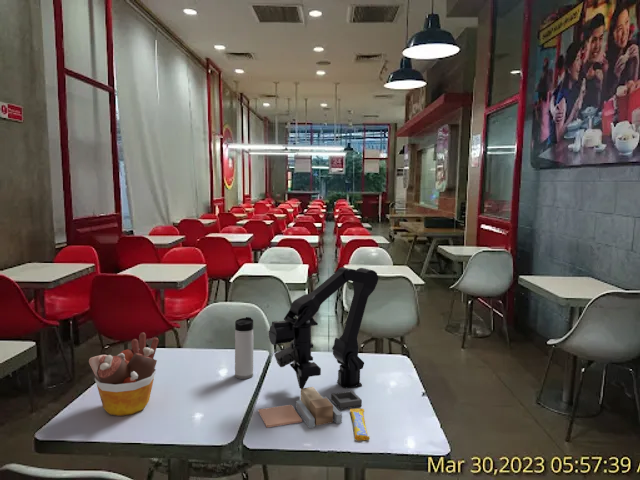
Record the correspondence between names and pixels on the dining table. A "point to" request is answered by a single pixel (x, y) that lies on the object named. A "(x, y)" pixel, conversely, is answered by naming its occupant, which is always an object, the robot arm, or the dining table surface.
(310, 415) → the channel
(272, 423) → the tile
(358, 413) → the candy bar
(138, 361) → the bucket of meat
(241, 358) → the travel mug
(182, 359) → the dining table surface
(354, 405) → the tray
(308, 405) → the tan wooden bar
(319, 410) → the block
